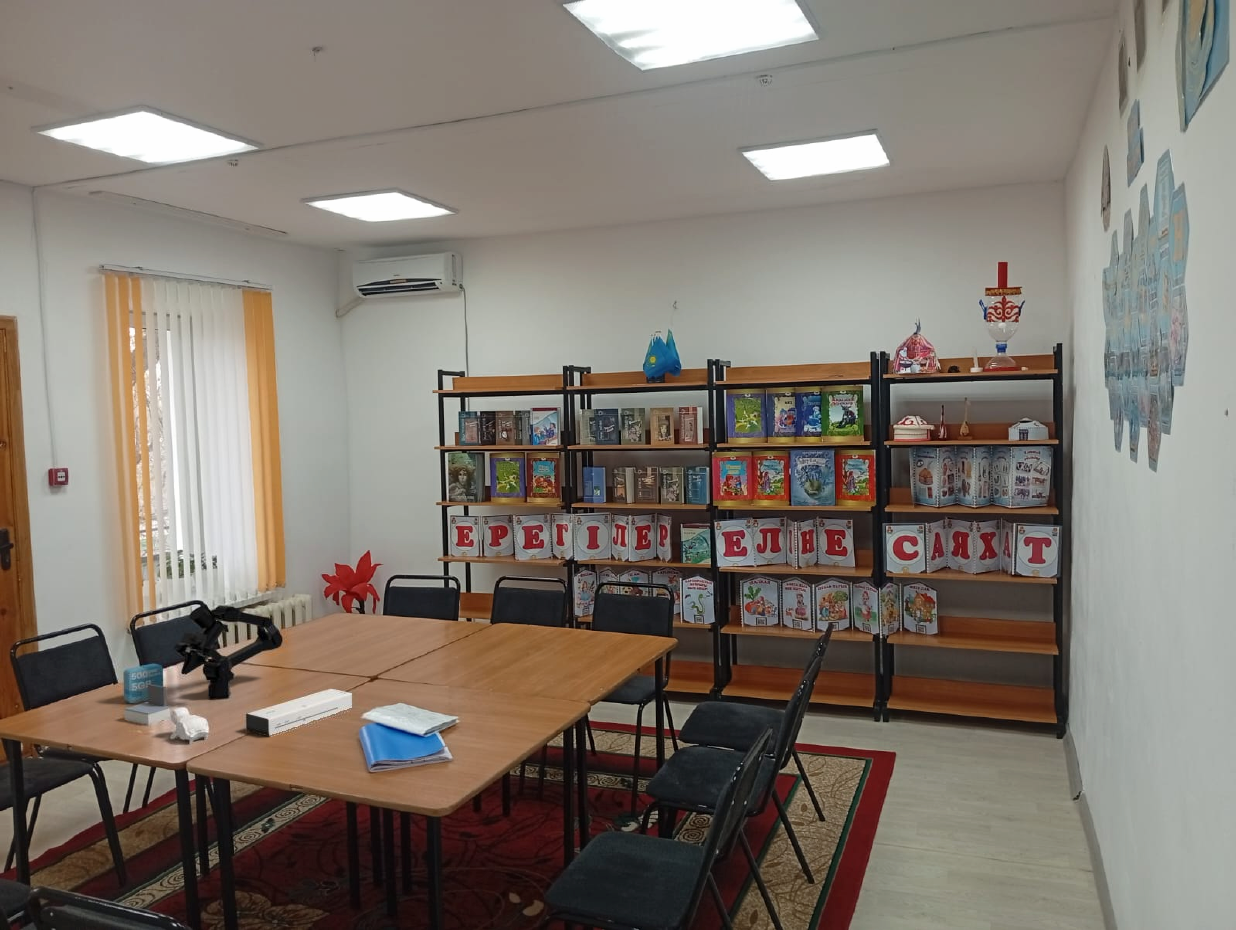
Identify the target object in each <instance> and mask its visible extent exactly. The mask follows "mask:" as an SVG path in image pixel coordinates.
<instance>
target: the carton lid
mask: <svg viewBox="0 0 1236 930" xmlns="http://www.w3.org/2000/svg"><path fill="white" fill-rule="evenodd" d="M166 693H167V692H166V686H164V685H163V686H158V685H152V684H148V701H144V702H141V703H139V704H138V703H137V704H135V705H132V706H129V707H125V708H124V711H125V710H127V711H132V712H137V713H142V714H146V715H150V714H153V713H156V712H159V711H163V710H166V709H169V708H170V709H171V707H170V706H168V705H167V694H166Z"/></svg>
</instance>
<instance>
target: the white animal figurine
mask: <svg viewBox="0 0 1236 930" xmlns="http://www.w3.org/2000/svg"><path fill="white" fill-rule="evenodd" d="M170 719H171V722H172V723H173V724H174V725H175V730H174V731H173V733H171V735H170V738H169V739H170V740H171V739H172V741H173V740H176V739H177V738H178V737H179V738H180V740H183V741H184V740H186V741H188V742H189V745H192V744H193V743H194V741H197V740H199V739H202V738H204V740H205V739H206V740H208V739H209V734H210V727H209V726H210V725H209V723H208V720H207V719H206V718H205V717H202V716H199V715H193V714H190V712H189V710H188V708H187V707H183V706H181V707H177V708H175V709H173V710H172V711H171V713H170ZM207 738H208V739H207ZM191 743H192V744H191Z"/></svg>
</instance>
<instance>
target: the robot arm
mask: <svg viewBox="0 0 1236 930" xmlns="http://www.w3.org/2000/svg"><path fill="white" fill-rule="evenodd" d="M189 620H190V621H191V622H193V623H194V625H196V626H197V627H198V628H199V629H200V630H201V629H203V630H202V632H195V633H187V632H183V633H182V637H181V639H180V642H182V643H180V642H179V643H175V646H174V647H173V650H174V651H175V652H176V653H178V655H180V656H181V657H182V658H184V659H183V664H182V668H181V671H180V673H181V675H188V674H190V673H192V672H193V671H195V670H197V669H198V668H199V667H201V666H202V665H203V666H202V674H203V675H204V677H205V679H206V681H209V684H208V686H207V687H208V688H207V691H208V699H209V700H220V699H222V700H223V699H229V697H230V696H231V694H232V692H231V689H230V688H231V685H230V684H231V683H230V682H231V681H233V680H234V678H235V673H234V672H233V668H235V667H236V666H237V665H240V664H242V663H244V662H245V661H247V660H249V659H251V658H253V657H254V656H256V655H258V654H259V655H260V653H262V652H266V651H272V650H276V649H279V648H280V647H282V643H283V640H284V639H283V636H282V634H281V632H280V630H279V629H278V628H277V627H276V625H275V624H274V623H273V621H272V619H271V617H269V616H263V615H259V614H258V615H257V614H254V613H247V612H244V611H242V610H240V609H239V608H238V607H235V606H232V605H231V606H230V605H223V604H220V605H217V606H216V607H215V608H214V609H210V607H208V606H207V605H206V604H200V606H198V607H195V609H193V610H192V611H191V612H190V614H189ZM223 622H224V623H241V624H248V625H253V626H256V629H257V630H256V635H257V637H256V639H255V641H253V642H252V643H250V644H248V645H246V646H244V647H242V648H240V649H238V650H236V651H234V652H232V653H230V654H228V655H222V654H220V652H218V651H217V650H216V649H215V646H216V647H217V644H218V643H217V640H218V639H219V637H220V636H221V635H222V633H229V632H230V631H229V625H228V624H224V623H223ZM213 646H214V647H213Z"/></svg>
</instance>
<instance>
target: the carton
mask: <svg viewBox="0 0 1236 930" xmlns="http://www.w3.org/2000/svg"><path fill="white" fill-rule="evenodd" d="M166 719H167V720H170V719H171V707H170V708H169V709H166V710H163V711H159V712H156V713H153V714H150V715H146V714H142V713H137V712H132V711H127V710H125V709H124V721H125V720H129V721H128V722H130V721H132V722H131V723H135V724H139V723H140V724H141V725H144V724H146V725H145V726H151V725H155V724H158V723H160V722H159V721H161V722H163V721H162V720H164V721H167V720H166ZM136 722H137V723H136ZM157 722H158V723H157ZM154 723H155V724H154ZM150 724H151V725H150Z"/></svg>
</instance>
